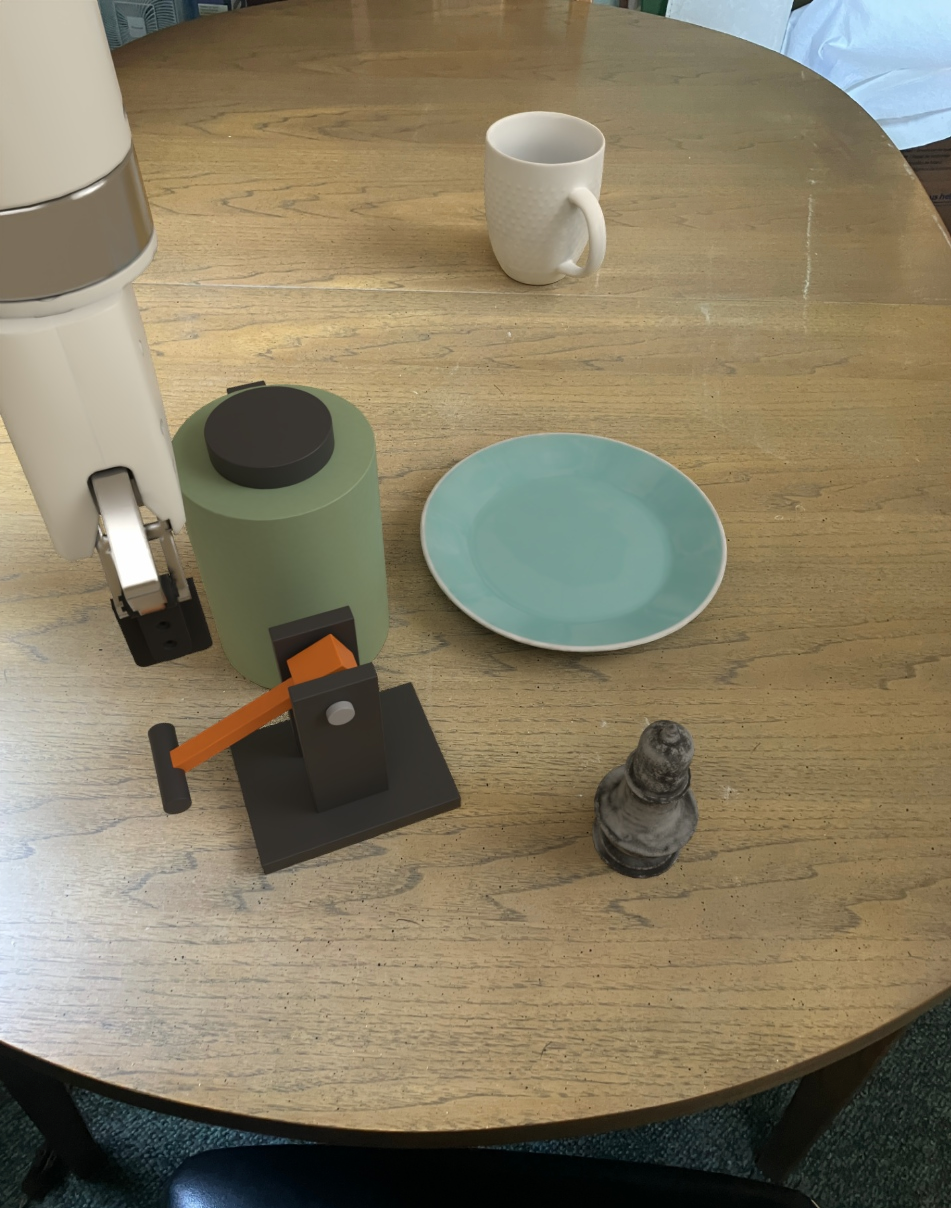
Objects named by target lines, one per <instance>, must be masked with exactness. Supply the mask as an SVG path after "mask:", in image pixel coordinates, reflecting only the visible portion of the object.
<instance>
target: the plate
mask: <svg viewBox="0 0 951 1208" xmlns="http://www.w3.org/2000/svg"><path fill="white" fill-rule="evenodd" d="M419 522H420V523H419V540H420V545H421V546H420V547H421V549H422V553H423V558H424V561H425V562H426V566H427V567H428V570H429V572H430V574H431V576H432V578H433V579H434V580H435V581H434V582H436V584H437V585H438V586H439V588H440V590H441V591H442V592H443V593H444V594H445V596H446V597H447V598H448V600H450V601H451V602H452V603H453V604H454V605H455V606H456V607H457V608H458V609H459V610H460V611H461V612H462V613H463V614H465V615H466V616H467V617H468V618H470V619H472V620H474V621H475V622H476V623H478V624H479V625H480V626H483V627H484V628H486V629H488V630H489V631H491V632H493V633H495V634H497V635H500V636H502V637H504V638H507V639H509V640H512V641H515V642H517V643H521V644H524V645H528V646H532V647H536V648H541V649H545V650H550V651H551V650H552V651H559V652H571V653H597V652H608V651H617V650H623V649H628V648H633V647H636V646H637V647H638V646H641V645H644V644H647V643H650V642H653V641H656V640H660V639H662V638H665V637H666V636H669V635H670V634H673V633H674V632H676V631H679V630H680V629H682V628H683V627H685V626H687V625H688V624H689V623H690V622H692V621H693V620H694V619H695V618H697V617H698V616H699V615H701V613H703V612H704V611H705V609H706V608H707V607H708V605H709V604H710V603H711V601H713V599H714V597H715V596H716V594H717V592H718V591H719V589H720V586H721V585H722V581H723V578H724V576H725V573H726V569H727V561H728V549H727V548H728V546H727V545H728V544H727V538H726V533H725V529H724V526H723V523H722V521H721V518H720V516H719V514H718V512H717V510H716V508H715V506H714V505H713V503H712V502H711V500H710V499H709V498H708V496H707V494H705V492H704V491H703V490H702V489H701V488H700V486H698V484H697V483H696V482H694V480H692V479H691V478H690V477H689V476H688V475H687V474H685V472H683V471H682V470H680V469H679V468H678V467H676V466H674V465H673V464H671V463H670V462H669V461H667V460H665V459H664V458H661V457H660V456H658V455H657V454H655V453H652V452H650V451H648V450H645V449H643V448H641V447H638V446H636V445H633V444H630V443H629V442H625V441H621V440H618V439H615V438H610V437H607V436H606V437H605V436H601V435H595V434H589V433H580V432H566V431H565V432H563V431H554V432H553V431H551V432H539V433H529V434H524V435H519V436H513V437H510V438H506V439H503V440H499V441H497V442H494V443H492V444H489V445H487V446H484V447H483V448H479V449H478V450H476V451H474V452H472V453H470V454H468V455H467V456H465V457H464V458H462V459H460V460H459V461H458V462H457V463H455V464H454V465H453V466H452V467H451V468H449V469H448V470H447V471H446V472H445V473H444V474H443V475H442V476H441V477H440V478H439V479H438V481H437V482H435V484H434V486H433V488H431V490H430V492H429V494H428V495H427V497H426V499H425V502H424V504H423V508H422V511H421V514H420V521H419Z"/></svg>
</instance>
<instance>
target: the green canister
mask: <svg viewBox="0 0 951 1208" xmlns="http://www.w3.org/2000/svg"><path fill="white" fill-rule="evenodd" d="M171 442H172V447H173V452H174V457H175V462H176V468H177V473H178V478H179V483H180V489H181V494H182V500H183V506H184V512H185V517H186V522H185V524H184V526H185V529H186V532H187V536H188V539H189V542H190V545H191V549H192V553H193V555H194V556H193V557H194V559H195V562H196V565H197V569H198V571H199V576H200V578H201V582H202V584H203V589H204V591H205V595H206V598H207V601H208V605H209V607H210V611H211V615H212V618H213V621H214V625H215V628H216V630H217V631H216V632H217V634H218V637H219V640H220V644H221V647H222V650H223V653H224V655H225V657H226V659H227V660H228V662H229V664H231V666H232V667H233V668H234V669H235V670H236V671H237V672H238V673H239V674H240V675H241V676H242V677H244V678H245V679H247V680H248V681H249V682H251V683H254V684H256V685H258V686H260V687H262V688H265V689H269V690H271V689H273V688H274V687H276V686H278V685H279V684H281V681H280V677H279V672H278V668H277V664H276V660H275V656H274V651H273V647H272V643H271V639H270V635H269V631H268V629H269V628H270V627H274V626H277V625H281V624H284V623H288V622H291V621H295V620H298V619H302V618H305V617H309V616H313V615H316V614H320V613H323V612H327V611H330V610H334V609H337V608H341V607H344V606H350V609H351V611H352V614H353V616H354V620H355V628H356V636H357V644H358V652H359V660H360V665H363V664H366V663H370V662H372V663H373V661H374V660H375V659H376V658H377V656H378V655H379V653H381V650H382V648H383V647H384V645H385V643H386V640H387V637H388V635H389V629H390V608H389V606H390V605H389V596H388V594H389V593H388V583H387V582H388V581H387V570H386V558H385V545H384V532H383V519H382V518H383V517H382V508H381V494H380V481H379V471H378V470H379V469H378V458H377V457H378V456H377V444H376V443H377V442H376V437H375V432H374V429H373V427H372V425H371V423H370V422H369V420H368V419H367V417H366V416H365V414H364V413H363V412H362V411H361V410H360V409H359V408H358V407H356V405H355V404H353V403H352V402H350V401H349V400H348V399H346V398H344V397H342V396H339V394H335V392H334V393H333V392H330V391H327V390H325V389H321V388H318V387H313V386H308V385H301V384H290V383H285V384H281V383H280V384H278V383H277V384H266V381H265V380H258V381H254V382H249V383H245V384H240V385H235V386H230V387H227V388H226V394H224V395H223V396H222V395H221V396H220V397H218V398H216V399H213V400H212V401H210V402H208V403H206V404H205V405H203V406H202V407H200V408H199V409H197V410H196V411H195V412H194V413H192V414H190V416H189V417H188V418H186V419H185V420H184V422H183V423H182V424H181V425H180V427H179V428H178V429H177V431H176V432H175V434H174V436H173V438H172V439H171Z"/></svg>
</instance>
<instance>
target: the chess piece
mask: <svg viewBox="0 0 951 1208" xmlns="http://www.w3.org/2000/svg"><path fill="white" fill-rule="evenodd" d="M694 755H695V742H694V738H693V735H692V733H690V731H689V730H688V729H687V728H686V727H685V726H683V725H682V724H680V723H678V722H676V721H674V720H670V719H660V720H654V721H653V722H651V723H649V724H648V725H647V726H646V727H645V728H644V729H643V731H642V732H641V734H640V737H639V740H638V744H637V747H636V748H634V749H633V750H632V751H631V752H630V753H629V754H628V756H627V758H626V759H625V763H624V764H620V765H619V766H617V767H615V768H613V769H611V770H610V771H608V772H607V773H606V774H605V775H604V776H603V777H602V779H601V780H600V782H599V784H598V785H597V787H596V790H595V794H594V798H593V807H594V808H593V810H594V815H595V817H594V819H593V824H592V828H591V829H592V830H591V832H592V833H591V835H592V843H593V845H594V848H595V851H596V852H597V854H598V856H599V857H600V858H601V860H602V861H603V862H604V863H605V864H606V865H607V866H608V867H609V868H610V869H612V870H613V871H615V872H617V873H619V874H620V875H622V876H626V877H629V878H634V879H650V878H654V877H659V876H660V875H662V874H664V873H666V872H667V871H669V870H670V869H671V868H672V867H673V866H674V865H675V863H676V862H677V860H678V858H679V857H680V854H681V853H682V849H683V848H684V847H685V846H686V845H687V844H688V843H689V842H690V841H691V840H692V838H693V836H694V834H695V832H696V831H697V828H698V823H699V817H700V814H699V805H698V801H697V798H696V797H695V795H694V792H693V790H692V789H691V788H690V786H691V782H692V771H691V767H690V766H691V764H692V760H693V758H694Z"/></svg>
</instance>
